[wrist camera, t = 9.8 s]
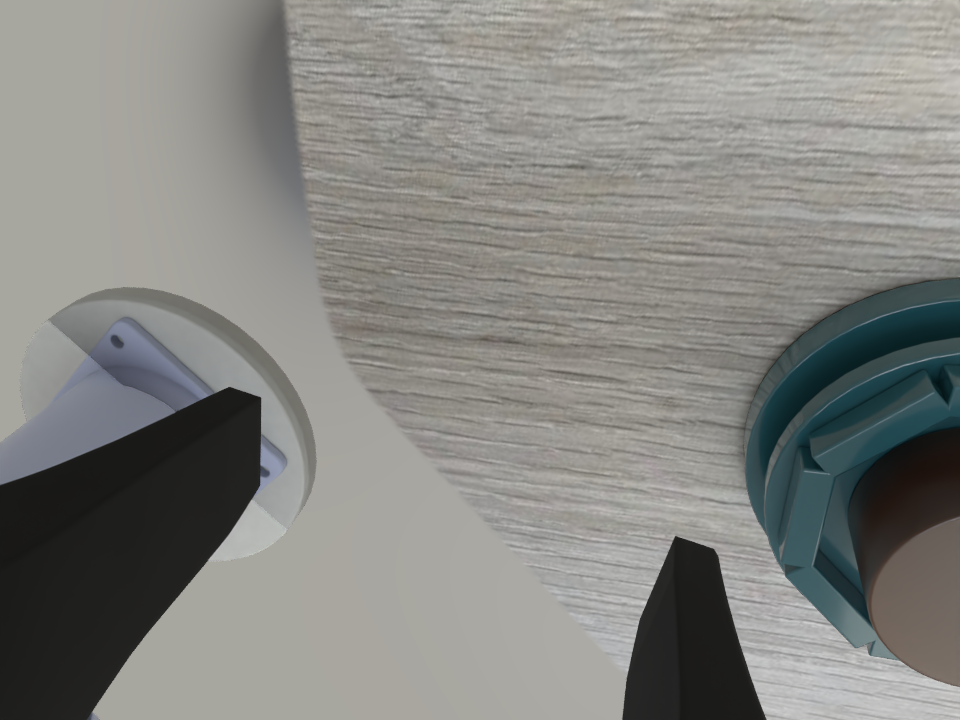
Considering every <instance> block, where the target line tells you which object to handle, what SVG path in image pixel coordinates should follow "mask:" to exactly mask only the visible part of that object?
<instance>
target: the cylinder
mask: <svg viewBox="0 0 960 720" xmlns="http://www.w3.org/2000/svg"><path fill="white" fill-rule="evenodd" d="M848 525H849V531H850V536H851V540H852V544H853V549H854V553H855V558H856V562H857V566H858V571H859V575H860V579H861V584H862V588H863V593H864V597H865V601H866V606H867V610H868V614H869V619H870V621H871V624H872V626H873V629H874V631H875V632H876V634H877V636H878V638H879V639H880V641H881V642H882V643H883V644H884V645H885V647H886V648H887V649H888V650H889V651H890V652H891V653H892V654H893V655H894V656H895V657H897V658H898V659H899V660H900V661H902V662H903V663H904V664H906V665H907V666H909V667H910V668H912V669H914V670H915V671H917V672H919V673H921V674H923V675H925V676H927V677H930V678H932V679H935V680H937V681H940V682H943V683H947V684H950V685H953V686H958V687H960V428H953V429H946V430H942V431H938V432H933V433H930V434H927V435H924V436H921V437H918V438H915V439H913V440H911V441H908V442H906V443H904V444H902V445H900V446H898V447H897V448H895V449H893V450H892V451H890V452H888V453H887V454H886V455H885V456H883V457H882V458H881V459H879V460H878V461H877V462H876V463H875V464H874V465H873V466H872V467H871V468H870V469H869V470H868V471H867V472H866V474H865V475H864V476H863V477H862V479H861V480H860V482H859V484H858V485H857V487H856V489H855V491H854V493H853V496H852V499H851V502H850V506H849V512H848Z"/></svg>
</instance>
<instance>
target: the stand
mask: <svg viewBox="0 0 960 720" xmlns="http://www.w3.org/2000/svg"><path fill="white" fill-rule="evenodd" d="M953 428H960V279H949V280H938V281H928V282H923V283H918V284H913V285H908V286H903V287H899V288H895V289H892V290H889V291H886V292H882V293H879V294H876V295H873V296H870V297H868V298H866V299H863V300H861V301H859V302H856V303H854V304H852V305H849V306H847V307H845V308H843V309H842V310H840V311H838V312H836V313H835V314H833V315H831V316H829V317H827V318H826V319H824V320H823V321H821V322H820V323H818V324H817V325H816V326H814V327H813V328H811V329H810V330H809V331H807V332H806V333H805V334H803V335H802V336H801V337H800V338H799V339H798V340H797V341H796V342H795V343H793V344H792V345H791V346H790V347H789V348H788V349H787V350H786V351H785V352H784V353H783V354H782V356H781V357H780V358H779V359H778V360H777V362H776V363H775V364H774V365H773V366H772V368H771V369H770V370H769V372H768V373H767V375H766V377H765V378H764V380H763V381H762V383H761V385H760V386H759V388H758V390H757V392H756V395H755V397H754V399H753V402H752V404H751V406H750V410H749V413H748V417H747V421H746V425H745V434H744V460H745V474H746V486H747V490H748V494H749V498H750V503H751V505H752V508H753V510H754V513H755V515H756V517H757V520H758V522H759V523H760V525H761V527H762V528H763V530H764V531H765V533H766V535H767V536H768V540H769V544H770V546H771V548H772V551H773V553H774V556H775V558H776V560H777V562H778V564H779V565H780V567H781V568H782V570H783V572H784V573H785V577H786V578H787V579H788V580H789V581H790V582H791V583H792V584H793V585H794V586H795V587H796V588H797V589H798V590H799V592H800V593H801V594H802V595H804V596H805V597H806V598H807V599H808V600H809V601H810V602H811V603H812V604H813V605H814V606H815V607H816V608H817V609H818V610H819V612H820V613H821V614H822V615H823V616H824V617H825V618H826V619H827V620H828V621H829V622H830V623H831V624H832V625H833V626H834V627H835V628H836V629H837V630H838V631H839V632H840V633H841V634H842V635H843V636H844V637H845V638H846V639H847V640H848V641H849V642H850V643H851V644H852V645H853V646H854V647H855V648H859V647H861V646H864V645H866V644H867V648H868V653H869V655H870V656H875V657H881V658H887V659H893V660H899V659H898V658H897V657H895V656H894V655H893V654H892V653H891V652H890V651H889V650H888V649H887V648H886V647H885V645H884V644H883V643H882V642H881V641H880V639H879V638H878V636H877V634H876V632H875V631H874V629H873V626H872V624H871V621H870V619H869V614H868V610H867V606H866V601H865V597H864V593H863V588H862V584H861V579H860V575H859V571H858V566H857V562H856V558H855V553H854V549H853V544H852V540H851V536H850V531H849V525H848V512H849V506H850V502H851V499H852V496H853V493H854V491H855V489H856V487H857V485H858V484H859V482H860V480H861V479H862V477H863V476H864V475H865V474H866V472H867V471H868V470H869V469H870V468H871V467H872V466H873V465H874V464H875V463H876V462H877V461H878V460H879V459H881V458H882V457H883V456H885V455H886V454H887V453H888V452H890V451H892V450H893V449H895V448H897V447H898V446H900V445H902V444H904V443H906V442H908V441H911V440H913V439H915V438H918V437H921V436H924V435H927V434H930V433H933V432H938V431H942V430H946V429H953ZM899 661H900V660H899Z"/></svg>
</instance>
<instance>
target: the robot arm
mask: <svg viewBox="0 0 960 720" xmlns="http://www.w3.org/2000/svg"><path fill="white" fill-rule="evenodd" d="M118 336H119V337H120V338H121V339H122V340H123V342H121V341H120V340H119V338H118ZM262 466H264V467H266V468H267V469H268V470H269V471H267V470H265V469H264V468H263V467H262ZM286 466H287V460H286V458H285V456H284V455H283V454H282V453H281V452H280V451H279V450H278V449H277V448H276V447H274V446H273V445H272V444H271V443H270V442H269V441H268V440H267V439H266V438H264V437H263V436H262V435H261V397H258V396H255V395H252V394H249V393H246V392H243V391H240V390H237V389H234V388H231V387H228V388H226V389H224V390H221V391H219V392H217V393H214V392H213V391H212V390H211V389H210V388H209V387H208V386H207V385H206V384H204V383H203V382H202V381H201V380H200V379H199V378H198V377H197V376H196V375H194V374H193V373H192V372H191V371H190V370H189V369H188V368H187V367H186V366H184V365H183V364H182V363H181V362H180V361H179V360H178V359H177V358H176V357H174V356H173V355H172V354H171V353H170V352H169V351H168V350H167V349H166V348H164V347H163V346H162V345H161V344H160V343H159V342H158V341H157V340H156V339H154V338H153V337H152V336H151V335H150V334H149V333H148V332H147V331H146V330H145V329H143V328H142V327H141V326H140V325H139V324H138V323H137V322H136V321H134V320H133V319H131V318H127V317H123V318H121V319H119V320H118V321H116V322H115V323H113V325H112V326H111V327H110V328H109V330H108V331H107V332H106V333H105V335H104V336H103V337H102V338H101V340H100V341H99V342H98V343H97V345H96V346H95V347H94V348H93V350H92V351H91V352H90V353H89V355H88V356H87V357H86V358H85V360H84V361H83V362H82V363H81V365H80V366H79V367H78V368H77V370H76V371H75V372H74V373H73V375H72V376H71V377H70V378H69V380H68V381H67V382H66V383H65V385H64V386H63V387H62V388H61V390H60V391H59V392H58V393H57V395H56V396H55V397H54V399H53V400H52V401H51V402H50V404H49V405H48V406H47V407H46V408H45V409H44V410H42V411H41V412H40V413H38V414H37V415H36V416H35V417H33V418H32V419H31V420H29V421H28V422H27V423H25V424H24V425H23V426H21V427H20V428H19V429H17V430H16V431H15V432H13V433H12V434H11V435H10V436H8V437H7V438H5V439H4V440H3V441H2V442H0V720H99V718H98V716H96V715H95V714H94V713H93V712H92V711H93V709H94V708H95V706H96V705H97V703H98V702H99V700H100V699H101V698H102V696H103V695H104V693H105V692H106V690H107V689H108V687H109V686H110V684H111V683H112V681H113V680H114V678H115V677H116V675H117V674H118V673H119V671H120V669H121V668H122V667H123V665H124V664H125V662H126V661H127V659H128V658H129V656H130V655H131V654H132V652H133V651H134V650H135V649H136V647H137V646H138V645H139V643H140V642H141V641H142V639H143V638H144V637H145V635H146V634H147V633H148V632H149V630H150V629H151V628H152V627H153V626H154V625H155V623H156V622H157V621H158V620H159V619H160V617H161V616H162V615H163V614H164V613H165V611H166V610H167V609H168V608H169V607H170V605H171V604H172V603H173V602H174V601H175V599H176V598H177V597H178V596H179V595H180V593H181V592H182V591H183V590H184V589H185V587H186V586H187V585H188V584H189V583H190V582H191V580H192V579H193V578H194V577H195V575H196V574H197V573H198V572H199V571H200V570H201V568H202V567H203V566H204V565H205V563H206V562H207V561H208V560H209V559H210V557H211V556H212V555H213V554H214V553H215V551H216V550H217V549H218V548H219V546H220V545H221V544H222V543H223V542H224V540H225V539H226V538H227V537H228V535H229V534H230V533H231V531H232V530H233V528H234V526H235V525H236V523H237V522H238V520H239V519H240V517H241V516H242V514H243V513H244V511H245V509H246V508H247V506H248V505H249V503H250V501H251V500H252V498H253V497H254V496H255V495H256V494H258V493H259V492H260V491H261V490H262V489H263V488H265V487H266V486H267V485H268V484H269V483H270V482H272V481H273V480H274V479H275V478H276V477H277V476H279V475H280V474H281V473H282V472H283V470H284V469H285V467H286ZM623 720H766V717H765V715H764V712H763V710H762V707H761V705H760V702H759V699H758V696H757V694H756V691H755V688H754V685H753V683H752V680H751V677H750V674H749V670H748V667H747V664H746V661H745V658H744V655H743V652H742V649H741V646H740V643H739V639H738V636H737V633H736V629H735V626H734V622H733V619H732V615H731V611H730V607H729V604H728V600H727V596H726V592H725V587H724V583H723V578H722V574H721V569H720V563H719V558H718V555H717V553H716V552H715V550H714V549H713V548H710V547H707V546H704V545H701V544H698V543H695V542H692V541H689V540H686V539H683V538H680V537H677V536H675V538H674V540H673V543H672V545H671V547H670V550H669V552H668V554H667V557H666V559H665V562H664V564H663V566H662V569H661V571H660V573H659V576H658V578H657V580H656V583H655V585H654V587H653V590H652V592H651V595H650V597H649V599H648V602H647V604H646V606H645V609H644V611H643V613H642V616H641V618H640V621H639V625H638V630H637V634H636V639H635V643H634V648H633V652H632V657H631V662H630V666H629V671H628V676H627V682H626V691H625V700H624V709H623Z"/></svg>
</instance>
